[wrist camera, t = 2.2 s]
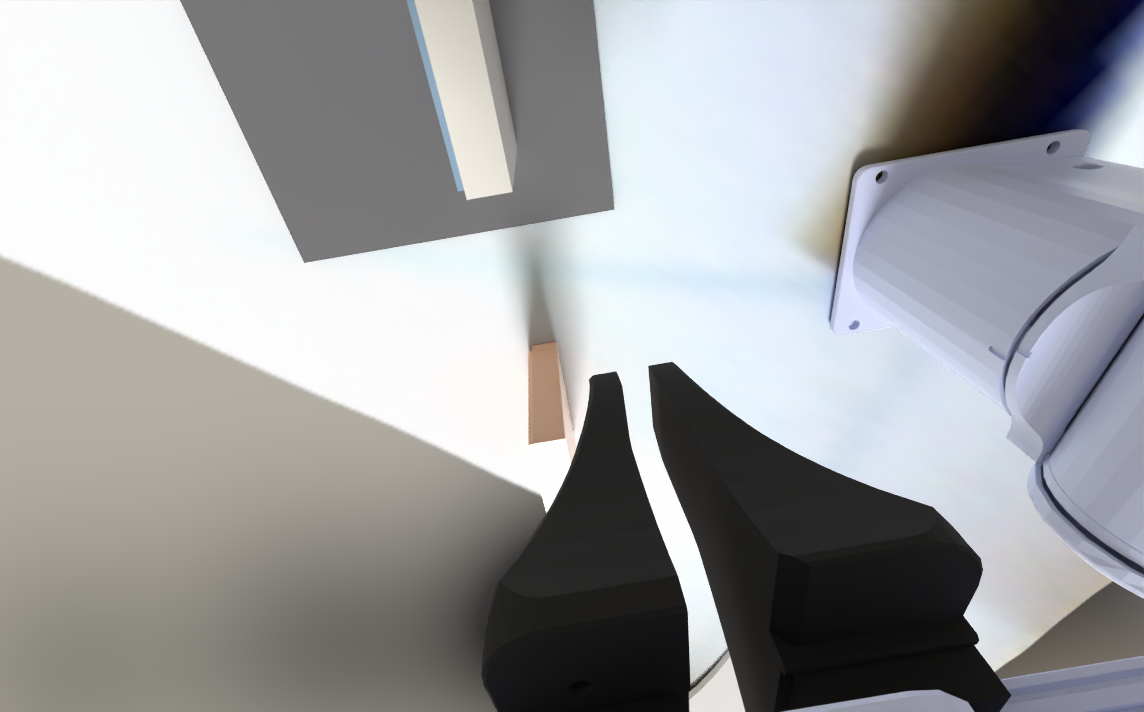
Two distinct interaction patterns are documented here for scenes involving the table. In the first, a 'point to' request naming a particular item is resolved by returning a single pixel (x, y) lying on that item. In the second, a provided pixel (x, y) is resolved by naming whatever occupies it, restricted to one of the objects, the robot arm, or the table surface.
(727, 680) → the corner molding
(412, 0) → the glazed tile
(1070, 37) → the table surface
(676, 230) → the table surface
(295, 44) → the mat
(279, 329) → the table surface
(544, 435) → the terracotta tile
